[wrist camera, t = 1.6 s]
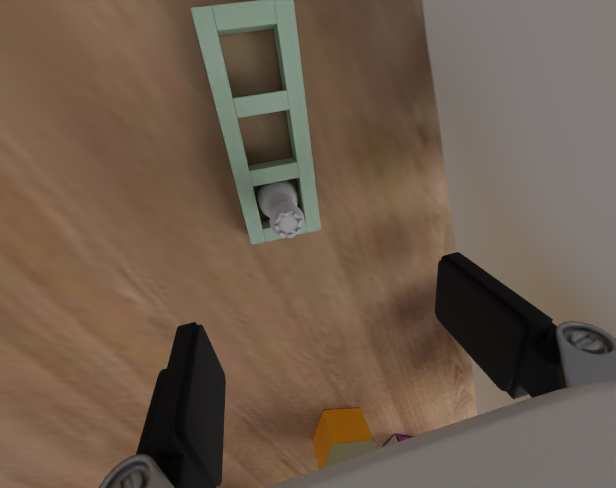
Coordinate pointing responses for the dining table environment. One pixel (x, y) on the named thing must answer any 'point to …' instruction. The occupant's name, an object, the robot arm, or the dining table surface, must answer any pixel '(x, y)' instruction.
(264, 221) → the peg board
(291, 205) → the rook chess piece
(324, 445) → the orange juice
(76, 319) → the dining table surface
